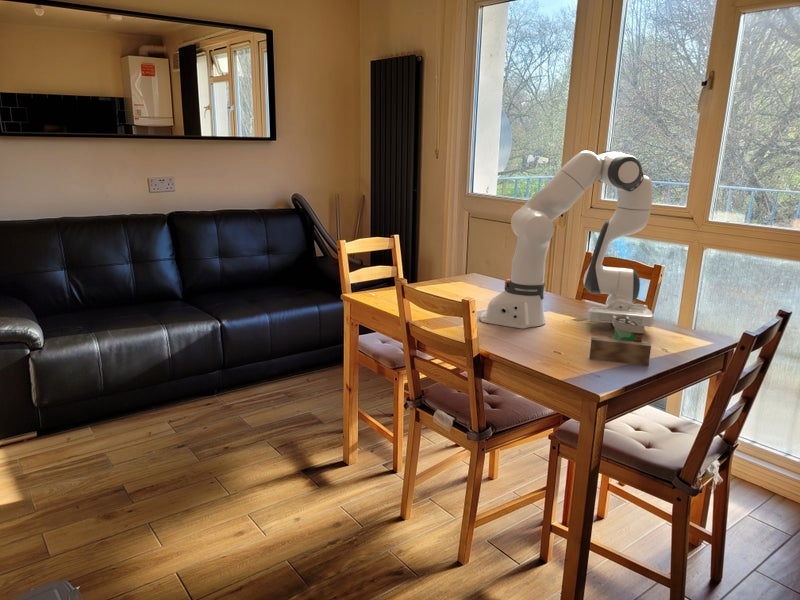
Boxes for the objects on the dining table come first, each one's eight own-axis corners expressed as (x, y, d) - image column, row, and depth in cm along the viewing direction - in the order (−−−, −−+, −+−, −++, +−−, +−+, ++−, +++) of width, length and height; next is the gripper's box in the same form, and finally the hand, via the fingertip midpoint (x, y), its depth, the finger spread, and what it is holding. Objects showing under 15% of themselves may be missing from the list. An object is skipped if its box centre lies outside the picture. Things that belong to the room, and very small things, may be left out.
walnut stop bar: (589, 359, 174) (591, 339, 173) (589, 356, 177) (591, 337, 175) (648, 366, 170) (651, 345, 168) (647, 363, 172) (650, 343, 171)
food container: (602, 345, 187) (606, 314, 184) (621, 345, 187) (625, 314, 185) (620, 359, 175) (624, 326, 172) (641, 359, 175) (645, 326, 173)
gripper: (588, 300, 207) (587, 310, 195) (652, 305, 201) (655, 316, 189) (586, 317, 209) (586, 329, 196) (650, 323, 203) (653, 335, 190)
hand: (620, 323), depth 192 cm, fingers closed
